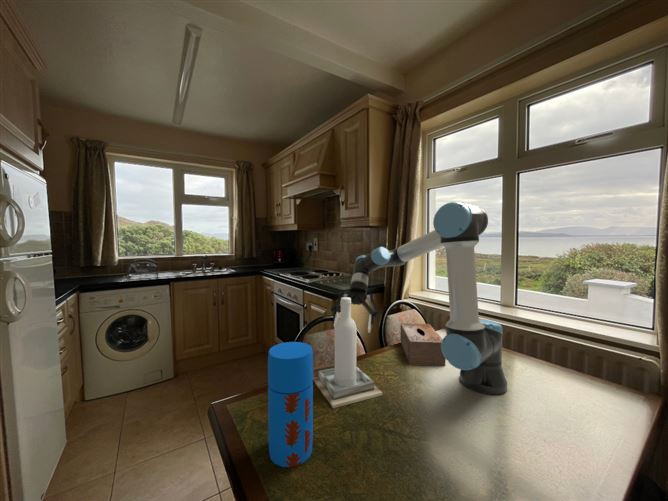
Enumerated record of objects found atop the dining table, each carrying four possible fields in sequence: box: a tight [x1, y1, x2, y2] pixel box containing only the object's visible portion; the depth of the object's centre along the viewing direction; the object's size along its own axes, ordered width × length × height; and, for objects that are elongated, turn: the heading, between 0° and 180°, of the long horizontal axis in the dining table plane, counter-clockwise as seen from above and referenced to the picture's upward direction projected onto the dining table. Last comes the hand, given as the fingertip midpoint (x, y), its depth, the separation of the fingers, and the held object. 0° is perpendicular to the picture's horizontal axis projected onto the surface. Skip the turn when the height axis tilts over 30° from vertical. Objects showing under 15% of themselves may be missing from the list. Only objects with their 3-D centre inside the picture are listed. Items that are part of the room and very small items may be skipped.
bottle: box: [334, 297, 358, 387], centre depth 95 cm, size 8×8×30 cm
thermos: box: [267, 341, 314, 468], centre depth 66 cm, size 11×11×25 cm
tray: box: [313, 362, 383, 409], centre depth 95 cm, size 20×18×4 cm
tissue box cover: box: [400, 322, 447, 367], centre depth 125 cm, size 26×14×10 cm, turn 175°
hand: (351, 329), depth 105 cm, fingers open, 13 cm apart
